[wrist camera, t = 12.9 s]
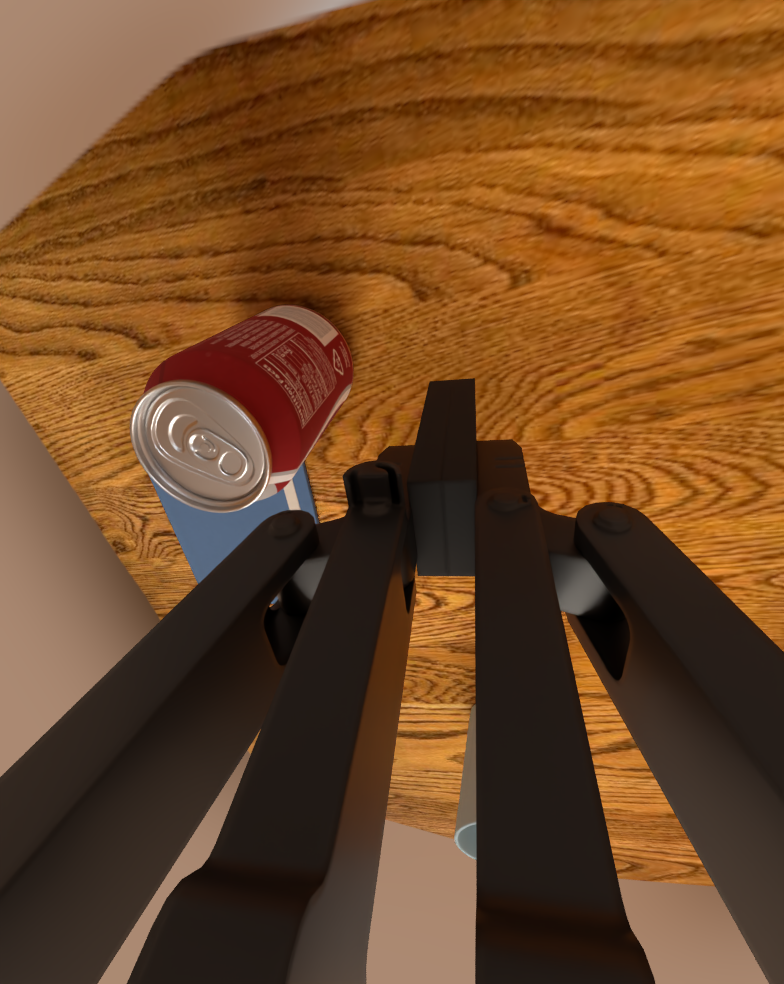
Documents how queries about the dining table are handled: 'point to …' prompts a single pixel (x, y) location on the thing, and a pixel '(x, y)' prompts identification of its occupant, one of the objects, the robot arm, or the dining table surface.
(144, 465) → the soda can
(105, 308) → the dining table surface
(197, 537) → the cloth
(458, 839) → the cup
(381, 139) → the dining table surface
